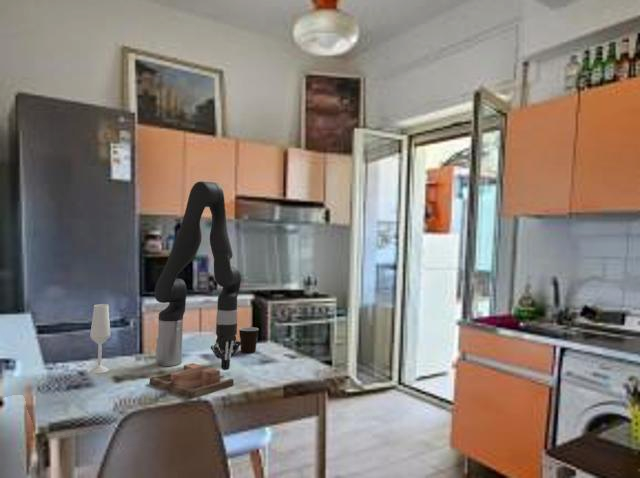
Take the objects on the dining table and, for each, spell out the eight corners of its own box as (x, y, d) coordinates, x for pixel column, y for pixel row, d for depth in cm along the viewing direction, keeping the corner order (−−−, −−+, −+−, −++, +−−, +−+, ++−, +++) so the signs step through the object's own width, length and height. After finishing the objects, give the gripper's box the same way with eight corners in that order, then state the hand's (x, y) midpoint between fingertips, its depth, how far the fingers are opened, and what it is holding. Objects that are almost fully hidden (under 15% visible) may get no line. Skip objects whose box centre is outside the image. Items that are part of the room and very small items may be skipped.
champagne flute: (100, 367, 174) (102, 303, 174) (113, 369, 171) (115, 304, 171) (84, 371, 168) (87, 305, 168) (97, 374, 165) (100, 306, 165)
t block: (161, 385, 154) (161, 370, 154) (192, 377, 165) (193, 363, 165) (188, 394, 146) (188, 379, 146) (219, 385, 157) (219, 370, 157)
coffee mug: (254, 354, 200) (254, 331, 200) (235, 353, 201) (236, 330, 202) (262, 348, 211) (263, 326, 211) (244, 347, 213) (245, 325, 213)
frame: (149, 383, 156) (149, 377, 156) (191, 372, 170) (192, 367, 170) (191, 398, 143) (191, 392, 143) (233, 385, 157) (233, 379, 157)
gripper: (233, 318, 176) (232, 364, 176) (205, 322, 166) (204, 371, 165) (247, 321, 172) (245, 367, 171) (219, 325, 161) (218, 375, 161)
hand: (225, 369), depth 168 cm, fingers closed
